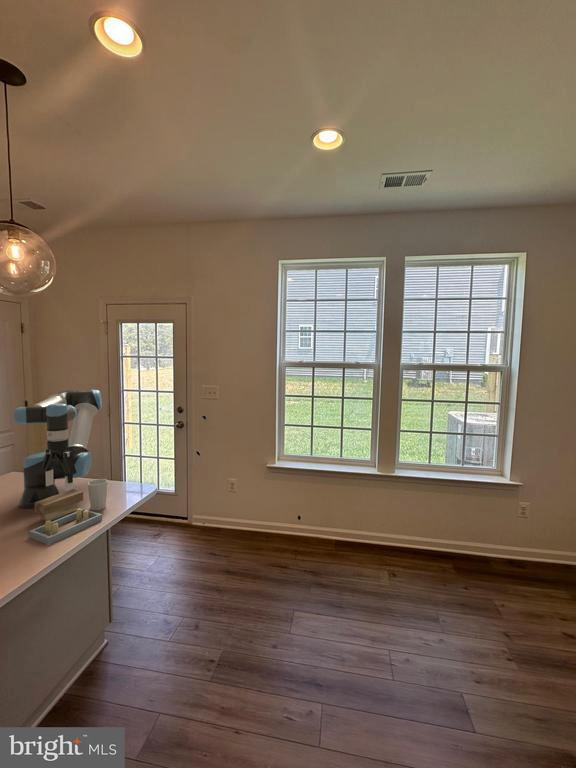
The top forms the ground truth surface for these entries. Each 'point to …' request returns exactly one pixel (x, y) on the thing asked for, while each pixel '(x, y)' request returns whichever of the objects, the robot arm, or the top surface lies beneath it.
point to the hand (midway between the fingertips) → (59, 487)
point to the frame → (54, 525)
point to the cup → (97, 493)
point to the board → (58, 501)
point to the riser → (59, 512)
